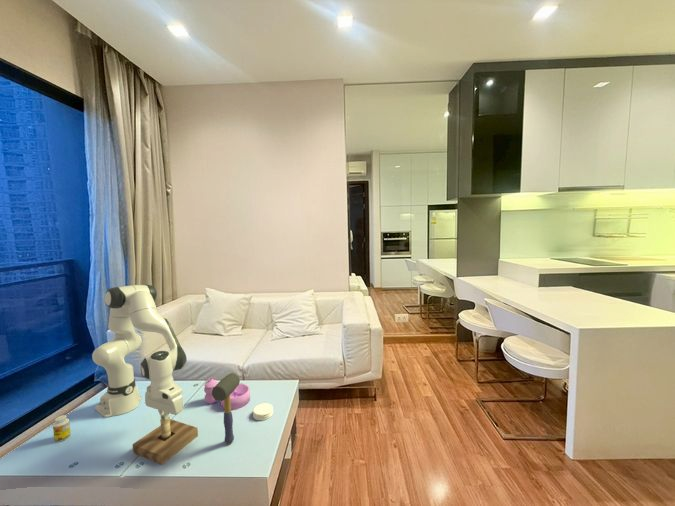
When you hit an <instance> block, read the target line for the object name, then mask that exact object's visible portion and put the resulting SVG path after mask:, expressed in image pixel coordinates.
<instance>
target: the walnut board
mask: <svg viewBox="0 0 675 506" xmlns="http://www.w3.org/2000/svg"><path fill="white" fill-rule="evenodd" d="M170 429H171V437H170V438H169V439H167V440H166V441H162V437H161V436H162V435H161V425H159V426H158V427H156V428H155V429H153V430H151V431H150V432H149V433H147V434H145V435H144V436H143V437H141V438H140V439H138V440H136V441H135V442H133V444H132V453H133V454H135V455H137V456H139V457H141V458H145V459H147V460H148V461H149V460H150V461H151V462H154V463H156V464H159V465H164V464H165V463H166V462H168V460H169V461H170V459H171V458H173V457H174V456H175V455H176V454H177V453H179V452H180V451H181V450H182V449H184V448H185V447H186V446H188V445H189V444H190V443H191V442H192V441H193V440H195V439H196V438H197V437H198V436H199V431H198V427H196V426H193V425H190V424H187V423H184V422H181V421H178V420H175V419H172V418H170Z"/></svg>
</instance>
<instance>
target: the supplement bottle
mask: <svg viewBox="0 0 675 506" xmlns="http://www.w3.org/2000/svg"><path fill="white" fill-rule="evenodd" d="M52 430H53V431H52V432H53V439H54V442H56V443H58V442H62V441H65V440H67V439H69V438H70V437H71V434H72V433H71V425H70V419H69V418H67V415H66V414H62V415H59V416H56V418H54V423H53V424H52Z"/></svg>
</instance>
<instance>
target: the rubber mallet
mask: <svg viewBox="0 0 675 506" xmlns="http://www.w3.org/2000/svg"><path fill="white" fill-rule="evenodd" d="M239 384H241V383H240V378H239V375H237V374H236V373H235V372H230V373H228V374H227V375H225V376H223V378H221V380H219V382H218V383H217V385H216V386H215V387H214V388H213V390H212V396H213V398H214V399H215V400H217V401H216V402H221V401H223V400H224V407H225V409H224V413H223V426H224V442H225V444H226V445H231V444H232V443H234V438H235V435H234V433H233V432H234V431H233V428H234V427H233V424H234V423H233V422H234V421H233V412H232V410H231V405H230V394H231V393H232V392H233V391H234V390H235V389H236V388H237V386H238V385H239Z"/></svg>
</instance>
